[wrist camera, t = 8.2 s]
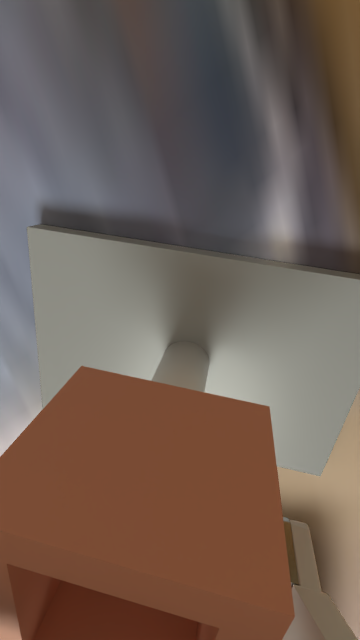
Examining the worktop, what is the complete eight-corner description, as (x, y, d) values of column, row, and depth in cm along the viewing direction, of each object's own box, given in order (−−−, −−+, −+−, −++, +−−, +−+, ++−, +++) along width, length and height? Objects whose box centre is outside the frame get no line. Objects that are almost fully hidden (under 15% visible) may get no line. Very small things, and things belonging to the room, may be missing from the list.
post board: (392, 279, 15) (545, 375, 7) (316, 460, 20) (360, 626, 12) (41, 224, 17) (-119, 254, 9) (52, 400, 22) (-45, 510, 14)
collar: (269, 406, 9) (295, 616, 5) (231, 529, 12) (224, 743, 7) (81, 365, 10) (-52, 515, 5) (83, 490, 12) (-7, 663, 8)
